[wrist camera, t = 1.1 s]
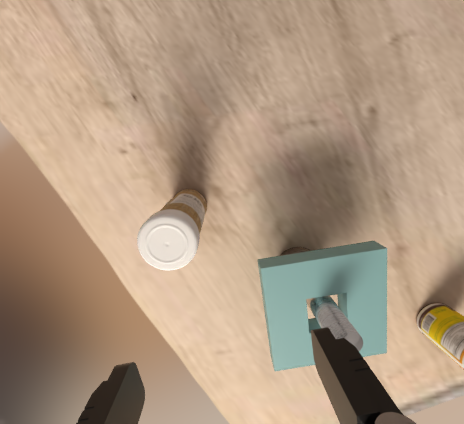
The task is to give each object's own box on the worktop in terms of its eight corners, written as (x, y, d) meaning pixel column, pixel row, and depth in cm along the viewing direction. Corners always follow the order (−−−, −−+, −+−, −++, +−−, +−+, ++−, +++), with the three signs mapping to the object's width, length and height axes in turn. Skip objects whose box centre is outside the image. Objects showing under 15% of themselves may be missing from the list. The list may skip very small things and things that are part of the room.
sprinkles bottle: (164, 204, 30) (122, 241, 17) (191, 181, 30) (167, 201, 17) (188, 229, 31) (165, 283, 18) (215, 208, 31) (210, 247, 18)
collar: (257, 259, 24) (260, 268, 22) (373, 240, 24) (387, 248, 22) (270, 355, 27) (274, 371, 25) (374, 338, 27) (386, 353, 25)
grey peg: (273, 250, 33) (310, 319, 19) (316, 243, 33) (383, 307, 19) (277, 289, 34) (315, 379, 20) (319, 282, 34) (383, 367, 20)
